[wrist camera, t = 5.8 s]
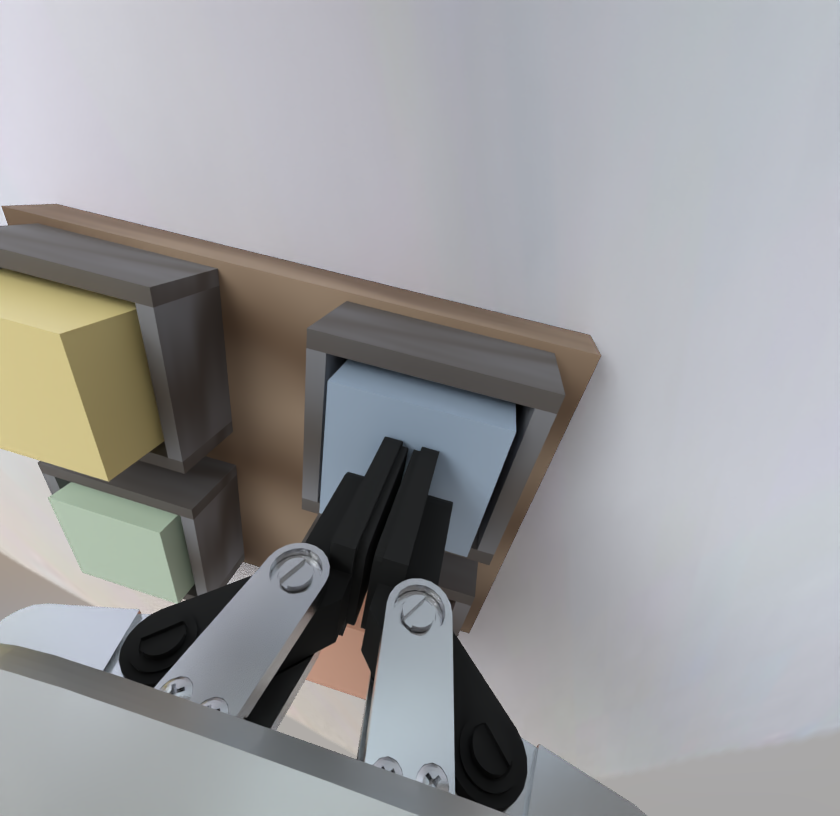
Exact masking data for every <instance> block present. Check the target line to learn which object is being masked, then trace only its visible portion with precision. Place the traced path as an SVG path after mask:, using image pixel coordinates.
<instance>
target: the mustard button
mask: <svg viewBox="0 0 840 816" xmlns="http://www.w3.org/2000/svg"><path fill="white" fill-rule="evenodd" d="M162 442H164V436H163V432H162V427H161V422H160V418H159V413H158V408H157V404H156V399H155V394H154V390H153V385H152V380H151V375H150V371H149V366H148V361H147V357H146V352H145V347H144V343H143V338H142V333H141V329H140V324H139V319H138V315H137V310H136V305H135V303H134V302H130V301H126V300H123V299H119V298H115V297H111V296H107V295H104V294H100V293H96V292H92V291H89V290H85V289H81V288H77V287H73V286H70V285H66V284H62V283H58V282H55V281H51V280H47V279H43V278H39V277H36V276H32V275H28V274H24V273H20V272H17V271H13V270H9V269H5V268H2V269H0V448H1V449H4V450H7V451H11V452H14V453H17V454H20V455H24V456H27V457H30V458H33V459H37V460H40V461H43V462H46V463H50V464H53V465H56V466H59V467H63V468H66V469H69V470H72V471H76V472H79V473H82V474H85V475H89V476H92V477H95V478H98V479H102V480H105V481H108V482H109V481H110V480H112V479H113V478H114V477H116V476H117V475H119V474H120V473H121V472H123V471H124V470H125V469H127V468H128V467H129V466H131V465H132V464H134V463H135V462H136V461H138V460H139V459H140V458H142V457H143V456H145V455H146V454H147V453H149V452H150V451H151V450H153V449H154V448H156V447H157V446H158V445H160V444H161V443H162Z"/></svg>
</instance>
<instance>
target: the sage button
mask: <svg viewBox="0 0 840 816" xmlns="http://www.w3.org/2000/svg"><path fill="white" fill-rule="evenodd" d="M48 499H49V501H50V503H51V506H52V508H53V510H54V512H55V514H56V516H57V519H58V521H59V523H60V525H61V527H62V529H63V532H64V534H65V536H66V538H67V540H68V542H69V545H70V547H71V549H72V551H73V553H74V555H75V558H76V560H77V562H78V564H79V566H80V568H81V571H82V572H83V573H86V574H89V575H92V576H95V577H98V578H101V579H104V580H107V581H110V582H113V583H116V584H119V585H122V586H125V587H128V588H131V589H134V590H137V591H140V592H143V593H146V594H149V595H152V596H155V597H158V598H161V599H164V600H167V601H170V602H173V603H176V604H177V603H180V602H181V600H182V599H183V598H184V597H185V595H186V594H187V593H188V592H189V590H190V589H191V588H192V587H193V585H194V584H195V582H194V577H193V572H192V568H191V563H190V558H189V554H188V549H187V544H186V540H185V535H184V530H183V525H182V521H181V516H179V515H176V514H173V513H170V512H167V511H163V510H160V509H157V508H154V507H150V506H147V505H144V504H141V503H138V502H134V501H131V500H128V499H125V498H121V497H118V496H115V495H112V494H109V493H105V492H102V491H99V490H96V489H92V488H89V487H86V486H83V485H80V484H76V483H73V482H71V483H69V484H68V485H66V486H65V487H63V488H62V489H60V490H59V491H57V492H56V493H54V494H53V495H51V496H50V497H48Z"/></svg>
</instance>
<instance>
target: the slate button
mask: <svg viewBox="0 0 840 816" xmlns="http://www.w3.org/2000/svg"><path fill="white" fill-rule="evenodd" d="M515 434H516V403H512V402H509V401H505V400H501V399H497V398H493V397H490V396H486V395H482V394H478V393H475V392H471V391H467V390H463V389H459V388H456V387H452V386H448V385H444V384H441V383H437V382H433V381H429V380H425V379H422V378H418V377H414V376H410V375H406V374H403V373H399V372H395V371H391V370H388V369H384V368H380V367H376V366H372V365H369V364H365V363H361V362H357V361H353V360H350V359H348V360H347V361H346V362H345V363H344V364H343V365H342V366H341V367H340V368H339V369H338V370H337V372H336V373H335V374H334V375H333V376H332V377H331V378H330V379H329V380H328V384H327V400H326V415H325V431H324V447H323V462H322V478H321V494H320V509H319V513H321V514H322V513H323V511H324V509H325V508H326V506H327V504H328V502H329V501H330V499H331V497H332V496H333V494H334V492H335V490H336V489H337V487H338V485H339V484H340V482H341V480H342V479H343V477H344V475H345V474H346V473H347V472H351V473H355V474H358V475H362V476H365V474H366V472H367V470H368V468H369V466H370V464H371V463H372V461H373V459H374V457H375V455H376V453H377V451H378V449H379V447H380V445H381V443H382V441H383V439H384V437H385V436H386V437H390V438H393V439H397V440H401V441H403V446H404V447H408V454H407V458H406V463H405V468H404V472H403V477H404V474H405V471H406V469H407V466H408V463H409V461H410V458H411V455H412V453H413V450H414V449H415V450H418V451H421V448H422V447H426V448H429V449H433V450H436V451H440V452H439V456H438V459H437V463H436V467H435V470H434V474H433V478H432V481H431V485H430V489H429V493H428V495H431V496H434V497H437V498H441V499H444V500H448V501H451V502H453V507H452V513H451V518H450V524H449V529H448V534H447V540H446V545H445V551H448V552H451V553H454V554H458V555H461V556H464V557H467V556H468V553H469V551H470V548H471V546H472V543H473V541H474V538H475V536H476V533H477V531H478V528H479V525H480V523H481V520H482V518H483V515H484V513H485V510H486V508H487V505H488V502H489V500H490V497H491V495H492V492H493V490H494V487H495V485H496V482H497V480H498V477H499V474H500V472H501V469H502V467H503V464H504V462H505V459H506V457H507V454H508V451H509V449H510V446H511V444H512V441H513V439H514V436H515ZM403 477H402V479H403Z"/></svg>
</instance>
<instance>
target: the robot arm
mask: <svg viewBox="0 0 840 816" xmlns="http://www.w3.org/2000/svg"><path fill="white" fill-rule="evenodd" d="M439 452H440V451H436V450H433V449H429V448H426V447H422V448H421V451H418V450H415V449H414V450H413V453H412V455H411V458H410V461H409V463H408V466H407V469H406V471H405V474H404V477H403V472H404V468H405V463H406V458H407V454H408V447H404V446H403V441H401V440H397V439H393V438H390V437H386V436H385V437H384V439H383V441H382V443H381V445H380V447H379V449H378V451H377V453H376V455H375V457H374V459H373V461H372V463H371V464H370V466H369V468H368V470H367V472H366V474H365V476H362V475H358V474H355V473H351V472H347V473H346V474H345V475H344V477H343V479H342V480H341V482H340V484H339V485H338V487H337V489H336V490H335V492H334V494H333V496H332V497H331V499H330V501H329V502H328V504H327V506H326V508H325V509H324V511H323V513H322V514H321V516H320V518H319V520H318V521H317V523H316V525H315V526H314V528H313V530H312V532H311V533H310V535H309V537H308V538H307V540H306V542H305V543H294V544H289V545H286V546H284V547H282V548H280V549H278V550H276V551H275V552H274V553H273V554H272V555H270V556H269V557H268V559H267V560H266V561H265V562H264V563H263V564H262V565H261V566H260V568H259V569H258V570H257V571H256V572H255V573H254V574H253V575H252V576H249V577H247V578H244V579H241V580H239V581H236V582H233V583H231V584H228V585H225V586H223V587H220V588H217V589H215V590H212V591H209V592H207V593H204V594H201V595H199V596H196V597H193V598H191V599H188V600H185V601H183V602H180V603H177V604H175V605H172V606H169V607H167V608H164V609H161V610H159V611H157V612H155V613H153V614H151V615H150V614H141V612H140V610H139V609H124V608H108V607H93V606H77V605H62V604H39V605H32V606H29V607H27V608H23V609H21V610H18V611H16V612H14V613H12V614H11V615H9V616H7V617H6V618H4V619H2V620H1V621H0V816H647V815H645V813H643V812H642V811H641V810H640V809H639V808H638V807H637V806H635V805H634V804H633V803H631V802H630V801H628V800H626V799H625V798H623V797H622V796H620V795H619V794H617V793H616V792H614V791H612V790H611V789H609V788H607V787H606V786H604V785H603V784H601V783H600V782H598V781H597V780H595V779H594V778H592V777H590V776H589V775H587V774H586V773H584V772H583V771H581V770H579V769H578V768H576V767H575V766H573V765H572V764H570V763H568V762H567V761H565V760H564V759H562V758H561V757H559V756H557V755H556V754H554V753H553V752H551V751H550V750H548V749H546V748H545V747H543V746H542V745H540V744H539V745H538V746H537V747H535V746H534V745H532V744H531V743H529V742H527V741H526V740H524V739H523V738H521V737H520V735H519V733H518V731H517V729H516V727H515V726H514V724H513V723H512V721H511V719H510V718H509V716H508V715H507V713H506V712H505V710H504V709H503V707H502V706H501V704H500V703H499V701H498V699H497V698H496V696H495V695H494V693H493V692H492V690H491V689H490V687H489V686H488V684H487V683H486V681H485V680H484V678H483V676H482V675H481V673H480V672H479V670H478V669H477V667H476V666H475V664H474V663H473V661H472V660H471V658H470V656H469V655H468V653H467V652H466V650H465V649H464V647H463V646H462V644H461V643H460V641H459V640H458V638H457V636H456V635H455V633H454V632H453V623H452V609H451V604H450V602H449V600H448V598H447V596H446V594H445V593H444V592H443V591H442V590H441V588H440V587H438V583H439V578H440V572H441V567H442V561H443V556H444V551H445V545H446V540H447V534H448V529H449V524H450V518H451V513H452V507H453V502H451V501H448V500H444V499H441V498H437V497H434V496H431V495H428V493H429V489H430V485H431V481H432V478H433V474H434V470H435V467H436V463H437V459H438V456H439ZM402 477H403V479H402ZM367 590H368V591H367ZM366 593H367V596H366ZM365 596H366V601H365V606H364V612H363V617H362V622H361V628H363V629H365V633H364V637H363V642H362V647H361V652H362V654H363V656H364V658H365V661H366V663H367V665H368V667H369V669H370V675H369V682H368V688H367V695H366V701H365V708H364V714H363V721H362V727H361V734H360V740H359V747H358V753H357V759H354V758H351V757H348V756H345V755H343V754H340V753H337V752H334V751H331V750H328V749H325V748H323V747H320V746H317V745H314V744H312V743H308V742H306V741H303V740H300V739H297V738H294V737H291V736H289V735H286V734H283V733H280V732H278V731H276V730H277V728H278V726H279V725H280V723H281V721H282V719H283V718H284V716H285V714H286V713H287V711H288V709H289V707H290V706H291V704H292V702H293V700H294V699H295V697H296V695H297V693H298V692H299V690H300V688H301V686H302V685H303V683H304V681H305V679H306V678H307V676H308V674H309V673H310V671H311V669H312V667H313V666H314V664H315V662H316V660H317V659H318V657H319V654H320V652H321V650H322V649H324V648H326V647H327V646H329V645H331V644H333V643H335V642H336V640H337V638H338V635H340V636H343V634H344V631H345V628H346V626H347V624H351V625H355V623H356V621H357V618H358V615H359V612H360V610H361V607H362V604H363V601H364V599H365Z"/></svg>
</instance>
